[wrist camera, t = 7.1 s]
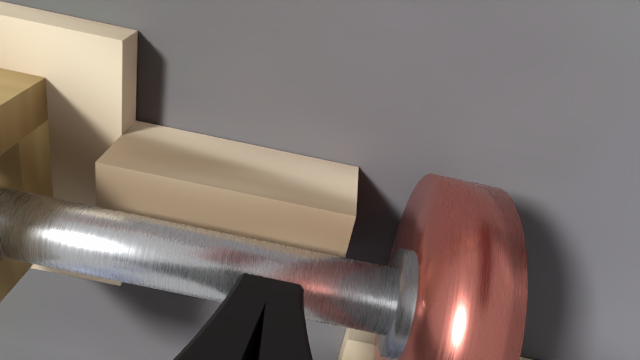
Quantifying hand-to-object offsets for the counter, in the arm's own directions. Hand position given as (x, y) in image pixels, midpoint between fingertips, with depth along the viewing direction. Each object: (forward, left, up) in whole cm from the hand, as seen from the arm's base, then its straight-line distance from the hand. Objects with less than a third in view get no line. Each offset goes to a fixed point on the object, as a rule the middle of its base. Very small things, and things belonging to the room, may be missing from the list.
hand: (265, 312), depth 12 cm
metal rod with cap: (0, +3, -4) cm, 5 cm away
